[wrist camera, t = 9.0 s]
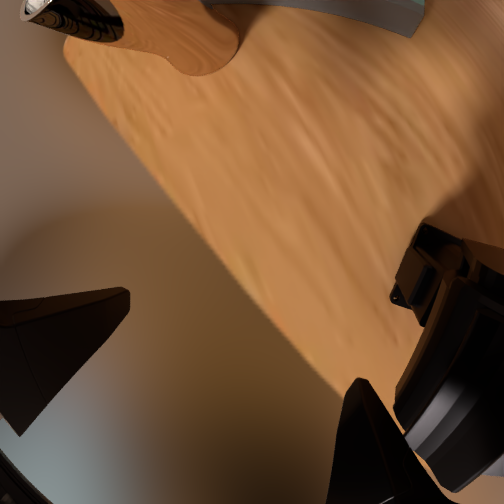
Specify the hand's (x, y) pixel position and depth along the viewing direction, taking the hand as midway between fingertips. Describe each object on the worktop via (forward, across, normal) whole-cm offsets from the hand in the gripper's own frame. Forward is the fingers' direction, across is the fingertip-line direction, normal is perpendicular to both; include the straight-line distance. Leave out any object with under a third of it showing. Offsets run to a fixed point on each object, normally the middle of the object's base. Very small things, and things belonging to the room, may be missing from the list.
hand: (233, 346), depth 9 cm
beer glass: (+12, +10, -14) cm, 22 cm away
